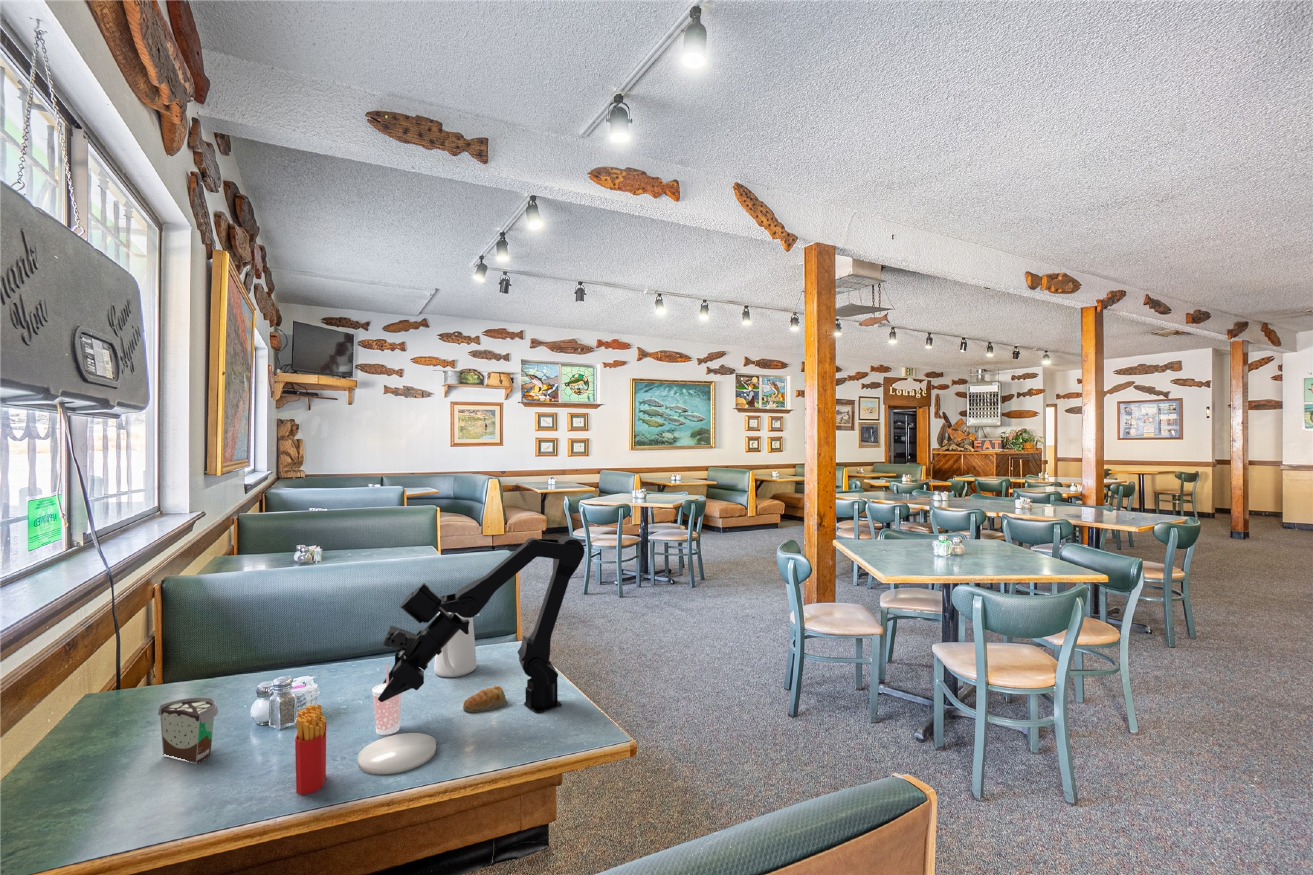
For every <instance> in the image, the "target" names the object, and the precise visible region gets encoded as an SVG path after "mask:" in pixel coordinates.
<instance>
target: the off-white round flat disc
mask: <svg viewBox="0 0 1313 875" xmlns="http://www.w3.org/2000/svg"><path fill="white" fill-rule="evenodd" d="M436 752H437V741H436V739H435V738H434V737H433V736H431V735H428V734H425V733H421V732H405V733H398V734H394V735H387V736H386V737H382V738H380V739H378V740H375V741H373V742H371V743H369V744H368V745H366V746H365V747H364V748H362V749H361V750H360V752H359V753H358V756H357V757H358V758H357V765H358V768H359V770H361V771H363V773H367V774H371V775H394V774H399V773H403V772H407V771H410V770H412V769H416V768H418V767H420V766H421V765H423V764H424V765H425V763H428V761H430V760H431V759H432V758H433V757H434V756H435V754H436Z"/></svg>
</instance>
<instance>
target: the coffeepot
mask: <svg viewBox="0 0 1313 875" xmlns="http://www.w3.org/2000/svg"><path fill="white" fill-rule="evenodd" d="M439 613H440V612H438V614H439ZM449 614H451V613H449ZM455 614H457V613H455ZM457 615H458V614H457ZM458 616H459V617H460V618H461V619H462V620H466V619H468V620H469V627H468V630H469V634H465V633H464V632H463V631H461V630H459V631H458V632H457V633H456V634H455V635H454V636H453V637H452V638H451V639H450V640H449V642H448V643H447V644H446V645H445V646H444V647H443V648H442V652H441V653H440V654H439V655H437V654H436V656H435V657H434V664H433V666H434V667H433V671H434V673H435V674H436V675H437V676H439V677H442V678H457V677H462V676H463V677H464V676H466V675H468V674H470V673H472V672H473V671H475V669H476V668H477V652H476V642H475V641H476V639H475V632H474V631H475V628H474V620H473V619H474V617H472V618H464V617H461V616H460V615H458Z"/></svg>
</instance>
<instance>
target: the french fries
mask: <svg viewBox="0 0 1313 875" xmlns="http://www.w3.org/2000/svg"><path fill="white" fill-rule="evenodd" d="M322 707H323V706H322V705H320V704H318V703H317V704H316V705H315V704H313V705H312V704H309V705H306V706H305V709H303V708H302V709H300V710H298V712H297V716H296V719H295V720H296V730H297V733H296V735H295V738H294V750H295V753H294V754H295V756H294V757H295V758H294V759H295V792H296V793H297V794H298V795H301V796H303V795H309V794H315V793H317V792H318V791H319V790H321V789H322V788H323V786H324V784H325V781H326V777H327V721H326V719H327V718H326V717H325V716H323V711H322Z"/></svg>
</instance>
